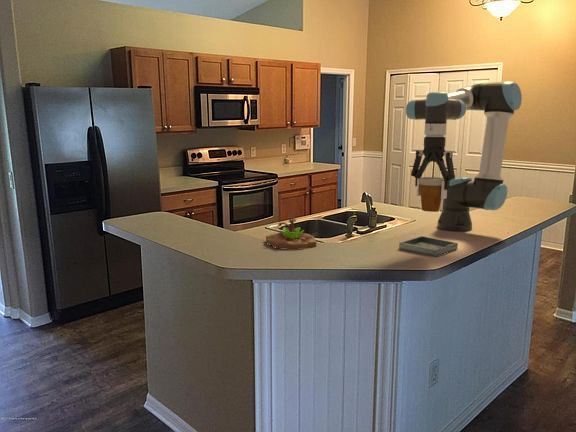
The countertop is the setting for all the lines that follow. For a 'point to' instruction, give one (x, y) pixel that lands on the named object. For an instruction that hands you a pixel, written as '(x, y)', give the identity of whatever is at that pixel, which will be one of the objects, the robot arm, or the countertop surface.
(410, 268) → the countertop surface
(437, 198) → the disposable coffee cup
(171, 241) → the countertop surface
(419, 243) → the grey square tray
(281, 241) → the plant
